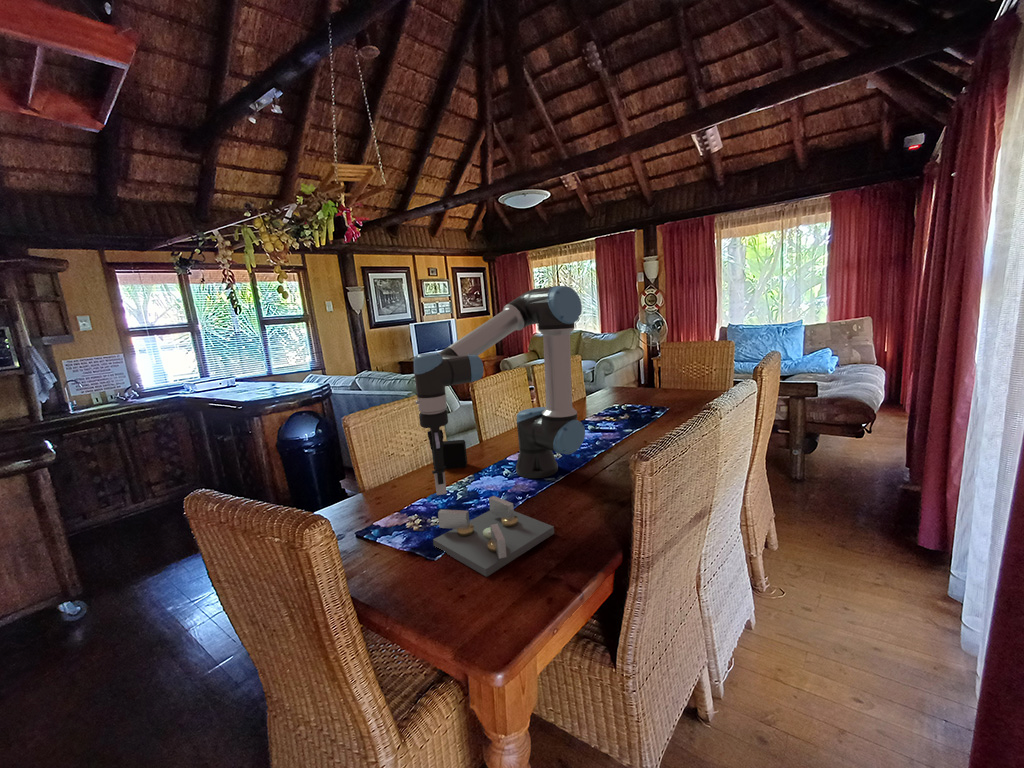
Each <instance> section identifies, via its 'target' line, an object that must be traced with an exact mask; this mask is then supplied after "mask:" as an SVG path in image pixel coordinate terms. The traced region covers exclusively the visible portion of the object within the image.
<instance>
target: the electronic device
mask: <svg viewBox="0 0 1024 768" xmlns="http://www.w3.org/2000/svg"><path fill="white" fill-rule="evenodd" d="M443 446H444V447H443V457H444V466H446V469H445V470H453V469H454V470H455V469H465V468H466V467H467V465H468V453H467V447H466V441H465V440H464V439H458V440H457V439H456V440H455V439H454V440H443Z"/></svg>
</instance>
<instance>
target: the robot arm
mask: <svg viewBox="0 0 1024 768" xmlns="http://www.w3.org/2000/svg"><path fill="white" fill-rule="evenodd" d="M582 308H583V307H582V301H581V299H580V296H579V293H577V292H576V291H575V289H573V288H572V287H571V286H566V285H554V286H548V287H541V288H540V287H539V288H538V287H537V288H533V289H530V290H528V291H526V292H524V293H522V294H520V296H517V297H516V298H515V299H513V300H511V301H510V302H508V303H507V304H505V305H503V308H502V311H500V312H499V313H497V314H495V316H493V317H491V318H490V319H488V320H487V321H485V322H483V323H482V324H480V325H479V326H477V327H475V329H473V330H471V331H470V332H468V333H467V334H465V335H464V336H462V337H461V338H460V339H458V340H456V341H455V342H453V343H452V344H450V345H449V346H448V347H445V348H444V349H442V350H441V351H439V352H428V353H427V352H425V353H418V354H416V355H415V356H414V357H413V375H414V381H415V388H416V397H417V400H415V402H414V403H415V405H417V407H418V408H417V409H418V412H419V414H418V418H419V425H420V427H421V428H423V429H429V430H428V431H427V437H428V441H429V442H428V443H429V446H430V450H431V454H432V455H431V456H432V466H433V470H432V471H431V473H432V475H434V484H435V490H436V491H435V493H436V496H441V495H446V494H447V484H446V483H447V482H446V474H445V472H446V470H447V469H446V466H444V457H443V447H444V446H443V441H444V432H443V430H442V429H441V427H445V426H447V425H448V423H449V417H448V410H446V409H447V407H448V405H447V393H446V387H449V386H455V385H461V384H468V383H470V384H471V383H473V382H476V381H480V380H481V379H482V378H483V376H484V373H485V372H484V371H485V368H484V363H483V361H482V359H481V357H480V355H481V354H483V353H484V352H486V351H487V350H489V349H490V348H492V347H493V346H495V345H496V344H497V343H499V342H500V341H502V340H503V339H504V338H506V337H507V336H508V335H510V334H511V333H513V332H515V331H521V330H523V329H524V328H526V327H528V326H531V325H537V329H538V332H539V333H540V334H542V337H543V338H542V339H543V340H542V341H543V359H544V360H543V363H544V386H545V387H544V388H545V406H540V407H539V406H537V407H531V408H526V409H522V410H520V411H518V413H517V414H516V427H517V436H518V440H517V441H518V451H519V452H518V457H517V462H516V465H515V471H516V474H517V476H520V477H521V478H527V479H543V478H547V477H550V476H553V475H554V474H557V472H558V470H559V466H558V461H557V460H556V457H555V454H554V452H555V453H557V454H562V455H571V454H574V453H575V452H576V451H578V450H579V449H580V447H581V446H582V444H583V442H584V440H585V436H586V428H585V425H584V424H583V423H582V422H581V421H580V420H578V411H577V409H576V408H574V406H573V391H572V390H573V389H572V384H573V383H572V360H571V359H572V357H571V354H572V353H571V351H572V350H571V334H572V333H573V331H574V330H575V329H576V328H575V323H576V322H577V321H578V320H579V319H580V316H581V315H582Z"/></svg>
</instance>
